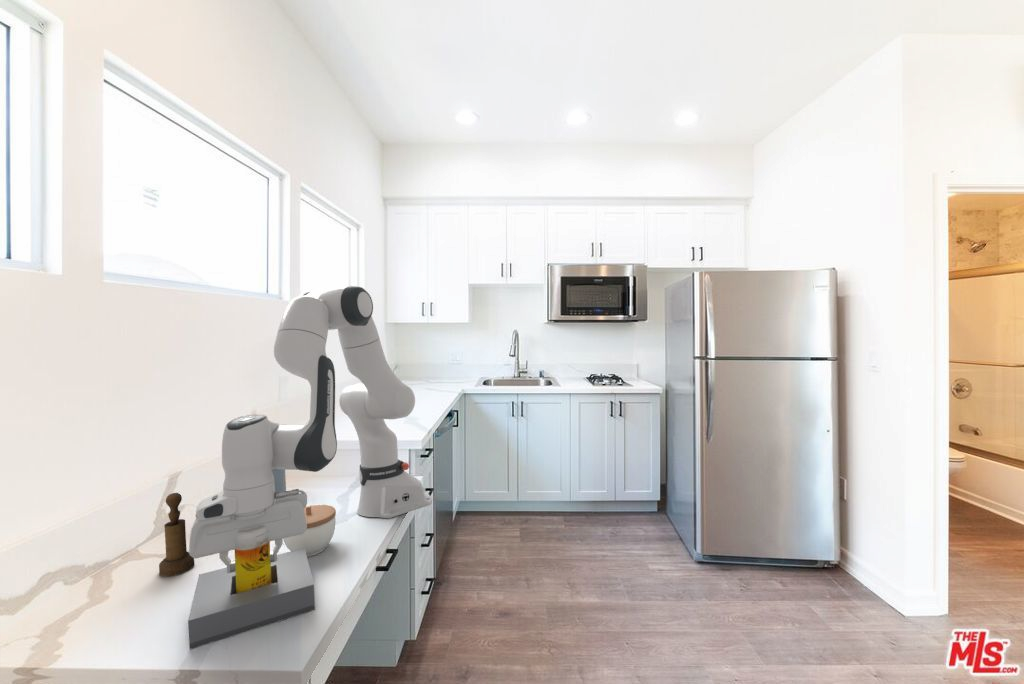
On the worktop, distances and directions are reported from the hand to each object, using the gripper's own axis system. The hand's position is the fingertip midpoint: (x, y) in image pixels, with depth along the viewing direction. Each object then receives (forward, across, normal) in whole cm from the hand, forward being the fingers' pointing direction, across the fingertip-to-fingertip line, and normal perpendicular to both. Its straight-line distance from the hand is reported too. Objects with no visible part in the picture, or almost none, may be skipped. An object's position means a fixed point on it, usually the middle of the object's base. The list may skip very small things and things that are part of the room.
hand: (252, 565), depth 89 cm
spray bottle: (+8, -5, -69) cm, 70 cm away
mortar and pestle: (+8, +16, -27) cm, 32 cm away
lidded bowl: (+8, -12, -19) cm, 24 cm away
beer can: (+7, 0, 0) cm, 7 cm away
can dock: (+8, 0, 0) cm, 8 cm away
